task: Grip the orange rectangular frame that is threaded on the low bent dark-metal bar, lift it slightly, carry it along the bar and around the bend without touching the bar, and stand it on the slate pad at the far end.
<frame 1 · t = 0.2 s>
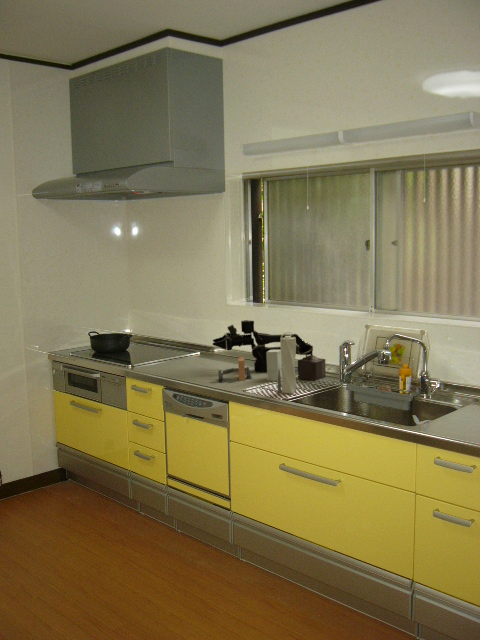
hand: (212, 342, 352), 17 cm above the counter, tool horizontal, fingers open, 9 cm apart
pad: (227, 380, 336), on the counter
orange rectangular frame: (241, 378, 339), on the counter
pepper mill: (308, 378, 335), on the counter
skyscraper: (288, 392, 310), on the counter
skincare box: (274, 379, 335), on the counter
wire: (233, 378, 339), on the counter
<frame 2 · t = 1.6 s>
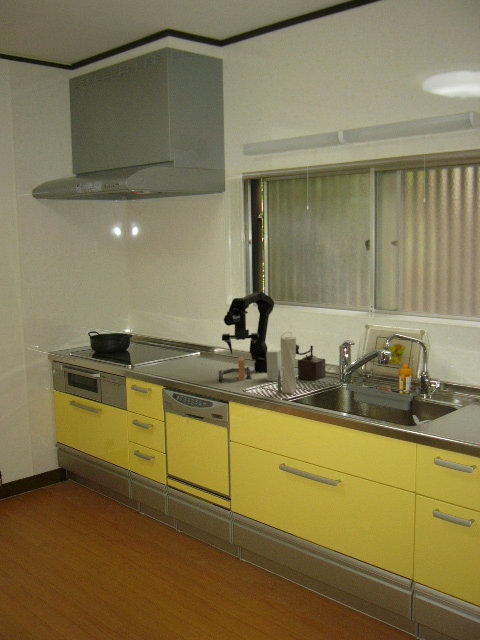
hand: (240, 353, 338), 13 cm above the counter, tool pointing down, fingers open, 9 cm apart
nothing on the counter moved.
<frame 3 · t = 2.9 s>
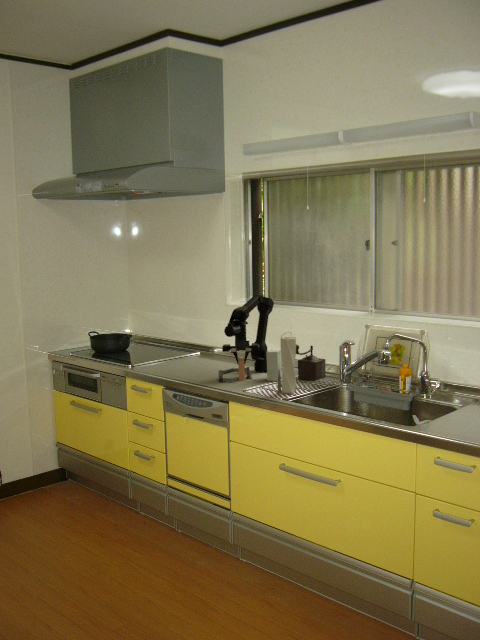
hand: (241, 364, 338), 7 cm above the counter, tool pointing down, fingers closed on orange rectangular frame, 3 cm apart
orange rectangular frame: (241, 378, 339), on the counter, touching gripper
everything else where it was.
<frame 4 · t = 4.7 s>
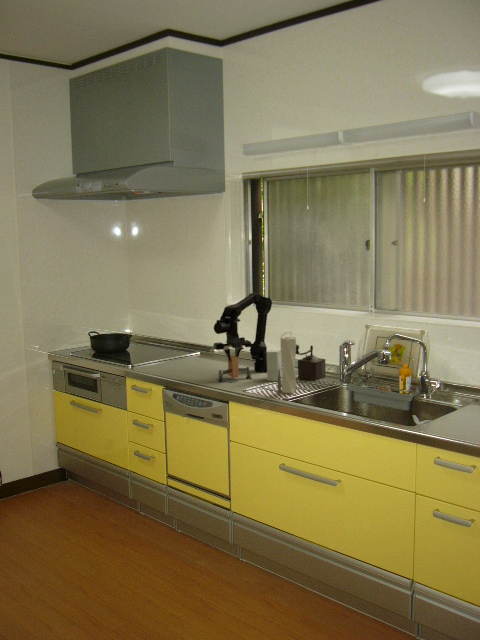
hand: (233, 361, 338), 9 cm above the counter, tool pointing down, fingers closed on orange rectangular frame, 3 cm apart
orange rectangular frame: (233, 376, 339), point 1 cm above the counter, touching gripper
everything else where it was.
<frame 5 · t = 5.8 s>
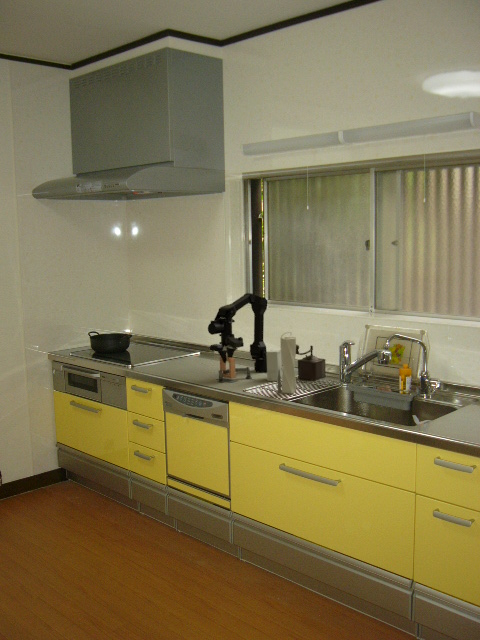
hand: (227, 362, 336), 9 cm above the counter, tool pointing down, fingers closed on orange rectangular frame, 3 cm apart
orange rectangular frame: (227, 377, 337), point 2 cm above the counter, touching gripper
everything else where it was.
when the fingers open (8 cm above the counter, at t = 6.5 s): orange rectangular frame stays where it is, resting on pad.
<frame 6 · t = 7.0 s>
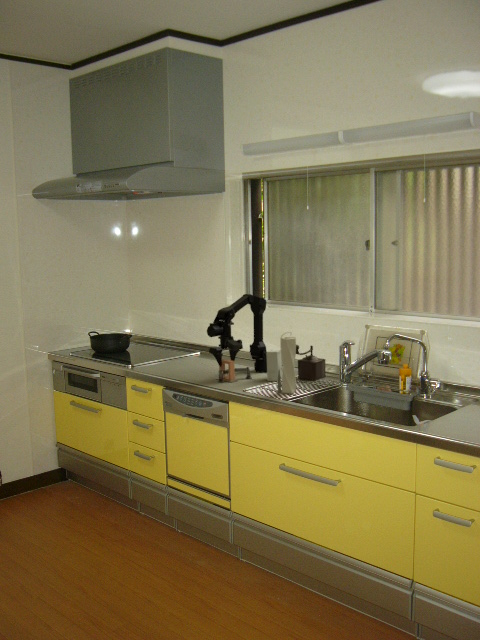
hand: (226, 365, 335), 8 cm above the counter, tool pointing down, fingers open, 8 cm apart
orange rectangular frame: (227, 379, 336), resting on pad
everything else where it was.
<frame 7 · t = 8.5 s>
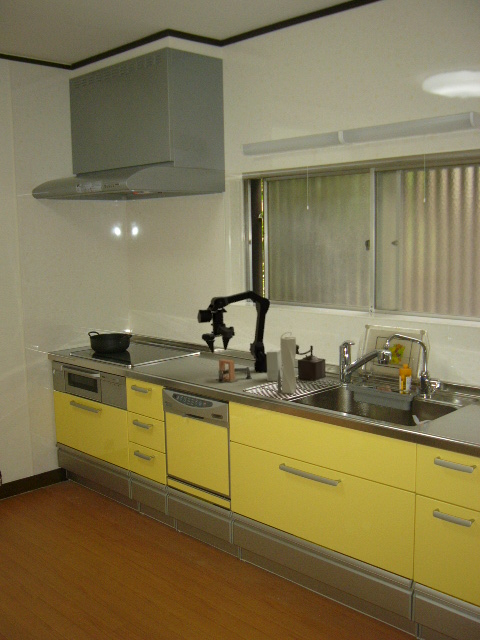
hand: (219, 351, 345), 13 cm above the counter, tool pointing down, fingers open, 9 cm apart
nothing on the counter moved.
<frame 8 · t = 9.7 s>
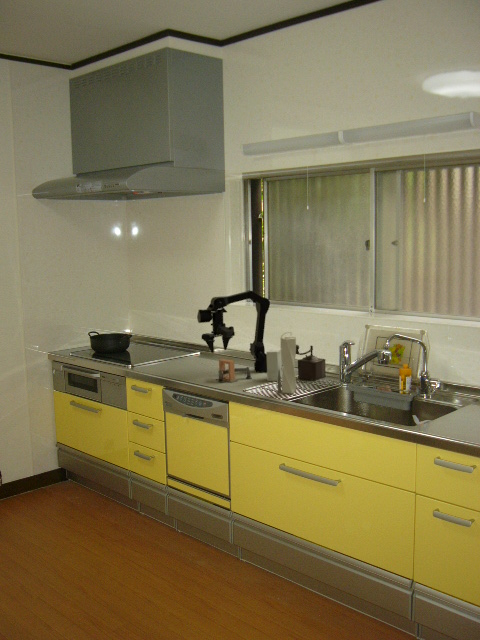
hand: (218, 351, 346), 13 cm above the counter, tool pointing down, fingers open, 9 cm apart
nothing on the counter moved.
at the end: orange rectangular frame 0.1 cm from the target spot, resting on pad; orange rectangular frame tilted 0°; orange rectangular frame touching pad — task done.
